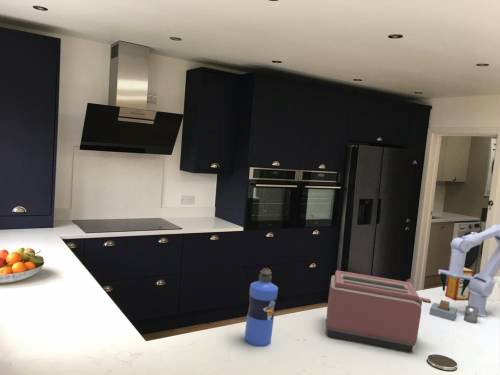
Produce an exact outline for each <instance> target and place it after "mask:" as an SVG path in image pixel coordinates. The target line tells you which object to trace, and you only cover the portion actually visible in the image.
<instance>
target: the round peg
mask: <svg viewBox="0 0 500 375" xmlns="http://www.w3.org/2000/svg"><path fill="white" fill-rule="evenodd" d="M478 312H479V309H478V308H476V307H473V306H468V305H465V309H464V316H463V320H464V321H465V322H466V323H469V324H477V323H478V318H479V316H478Z"/></svg>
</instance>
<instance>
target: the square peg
mask: <svg viewBox="0 0 500 375" xmlns="http://www.w3.org/2000/svg"><path fill="white" fill-rule="evenodd" d="M439 304H440V307H439V309H443V310H447V311H448V309H449V307H450V301H447V300H443V299H441V300H440V302H439Z"/></svg>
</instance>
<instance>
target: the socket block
mask: <svg viewBox="0 0 500 375" xmlns="http://www.w3.org/2000/svg"><path fill="white" fill-rule="evenodd" d="M439 307H440V303H437V302H433V303H432V305H431V306H430V308H429V315H430V316H433V317H437V318H441V319H444V320H448V321H452V322H454V321H455V319H456V316H457V313H458V308H456V307H452V306H449V309H448V311H447V310H443V309H439Z"/></svg>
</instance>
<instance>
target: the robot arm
mask: <svg viewBox="0 0 500 375" xmlns="http://www.w3.org/2000/svg"><path fill="white" fill-rule="evenodd" d="M490 238H491V239H492V238H494V239H495V241H496V243H497V244H498V245H497V247H496V249H494V252H493V253H492V255H491V256H490V258H489V259H488V261H487V262H486V264H485V265H484V267H483V268H482V270H481V271H480V272H478V273H476V274H473V277H471V276H468V275H464V274H463V270H464V267H465V263H466V256H467V253H468V252H470V250H471V249H472V248H474V247H476V246H479V245H481V244H482V243H483V241H484V240H487V239H490ZM450 248H451V257H450V258H451V259H450V264H449V269H450V270H449V269H448V270H446V269H439V268H438V273H437V274H438V275H439V277H440V278H439V279H440V282H441V286H442V292H446V286H447V280H448V276H450V277H455V278H459V279H463V280H464V281H463V287H462V292H461V296H463V293H464V290H465V289H466V287H468V289H469V292H470V296H469V300H468V302H467V306H473V307H476V308H478V309H479V312H478V317H481V318H485V316H486V312H487V311H486V306H487V299H488V298H489V297H490V296H491V295H492V294H493V289H494V288H495V287H496V286H495V285H496V284H495V282H494V280H493V279H494V277H495V276H496V275H497V273H498V271H499V270H500V223H495V224H492V225H491V227H490V228H487V229H484V230H483V231H481V232H475V231H472V232H470V233H469V234H467V235H463V236H462V237H454V238H453V239H452V240H451V242H450Z"/></svg>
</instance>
